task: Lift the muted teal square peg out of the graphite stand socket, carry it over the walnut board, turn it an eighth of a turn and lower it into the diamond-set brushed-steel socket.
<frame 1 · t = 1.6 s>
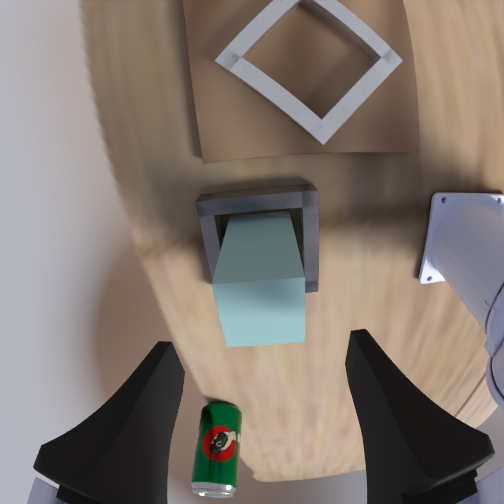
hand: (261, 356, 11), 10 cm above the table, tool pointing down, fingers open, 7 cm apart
stand socket: (262, 240, 20), on the table
teal peg: (262, 239, 20), resting in stand socket
soda can: (222, 408, 31), on the table
socket board: (307, 60, 14), on the table
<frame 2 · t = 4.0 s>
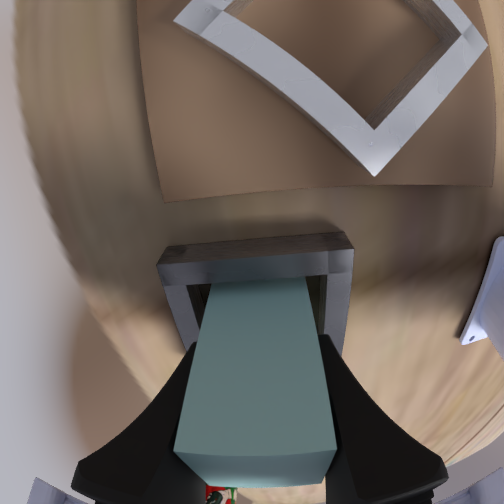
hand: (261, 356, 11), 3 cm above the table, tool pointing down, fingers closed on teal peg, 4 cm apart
stand socket: (262, 310, 13), on the table
teal peg: (262, 309, 13), resting in stand socket, touching gripper
soda can: (216, 459, 25), on the table
socket board: (338, 28, 7), on the table
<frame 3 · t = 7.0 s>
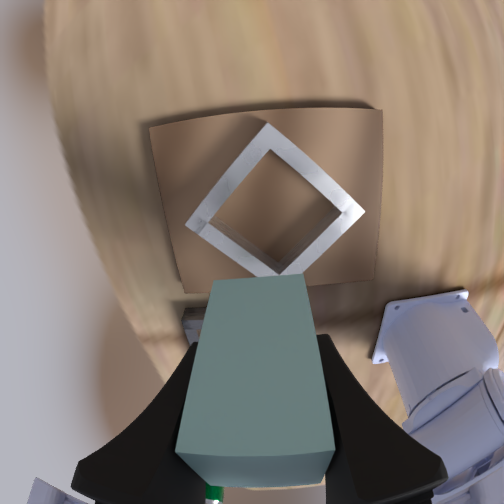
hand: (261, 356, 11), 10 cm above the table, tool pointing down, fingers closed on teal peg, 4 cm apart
stand socket: (236, 339, 24), on the table
teal peg: (262, 311, 13), point 7 cm above the table, touching gripper
soda can: (212, 437, 36), on the table
socket board: (273, 202, 18), on the table
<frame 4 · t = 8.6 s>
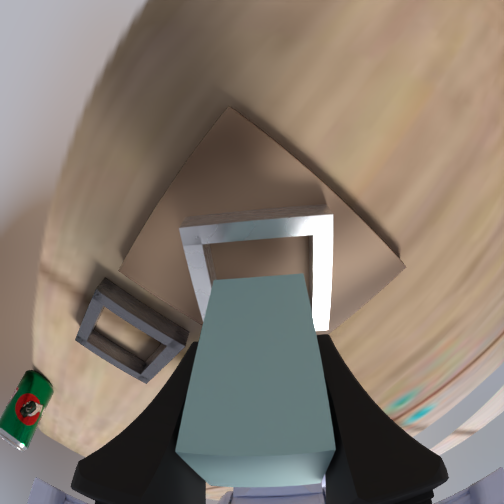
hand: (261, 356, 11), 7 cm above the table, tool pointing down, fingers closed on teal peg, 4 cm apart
stand socket: (129, 331, 21), on the table
teal peg: (262, 311, 13), point 4 cm above the table, touching gripper
soda can: (41, 378, 28), on the table
socket board: (262, 261, 17), on the table
when the fingers open (4 cm above the table, at t = 10.0 s): teal peg stays where it is, resting on socket board.
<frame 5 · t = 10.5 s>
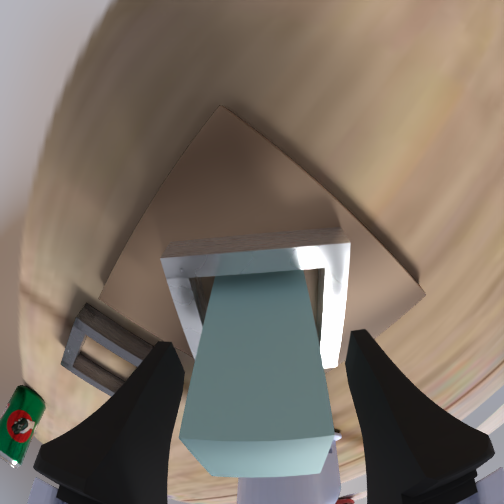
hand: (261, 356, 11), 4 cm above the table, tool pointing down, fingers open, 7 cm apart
stand socket: (116, 358, 18), on the table
teal peg: (262, 305, 14), point 1 cm above the table, touching socket board
soda can: (33, 393, 25), on the table
plant pot: (331, 500, 49), on the table
socket board: (262, 291, 15), on the table
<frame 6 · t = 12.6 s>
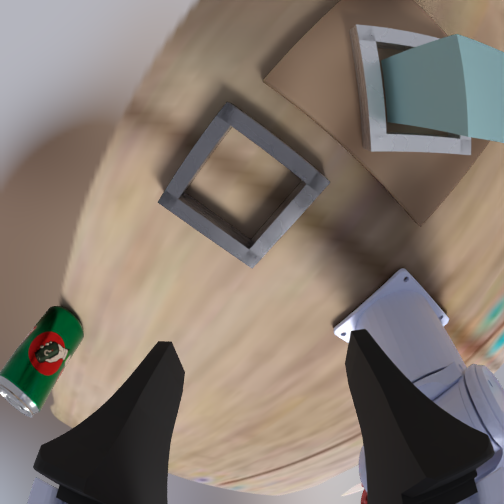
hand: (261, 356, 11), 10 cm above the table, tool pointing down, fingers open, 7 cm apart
stand socket: (242, 184, 18), on the table
teal peg: (412, 93, 13), point 1 cm above the table, touching socket board
soda can: (68, 320, 25), on the table
socket board: (405, 92, 14), on the table
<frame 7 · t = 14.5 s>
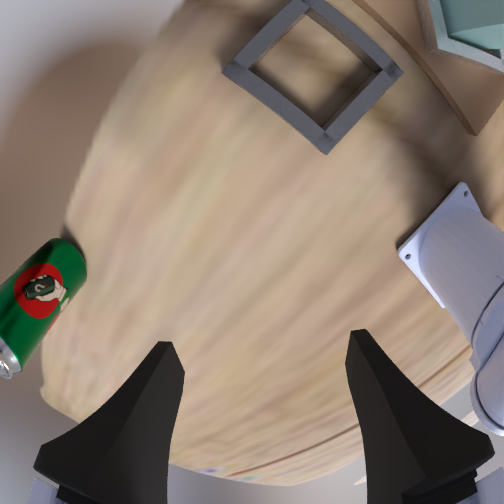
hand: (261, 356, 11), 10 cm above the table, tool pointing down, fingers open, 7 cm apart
stand socket: (314, 69, 14), on the table
teal peg: (458, 19, 9), point 1 cm above the table, touching socket board
soda can: (68, 259, 21), on the table
socket board: (450, 19, 10), on the table
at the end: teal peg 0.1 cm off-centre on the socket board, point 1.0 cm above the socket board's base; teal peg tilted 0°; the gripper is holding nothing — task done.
